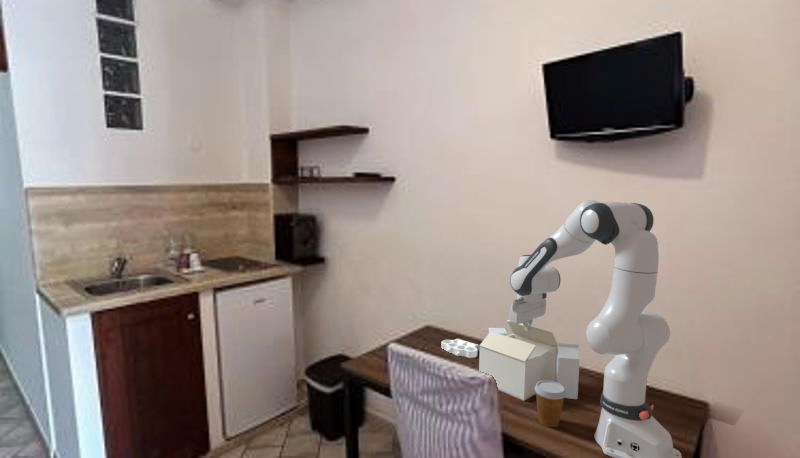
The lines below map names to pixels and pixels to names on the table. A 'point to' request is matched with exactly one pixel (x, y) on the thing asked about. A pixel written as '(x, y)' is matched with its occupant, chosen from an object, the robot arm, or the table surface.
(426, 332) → the table surface
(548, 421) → the disposable coffee cup
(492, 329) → the supplement box
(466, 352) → the knuckle duster
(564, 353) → the milk carton
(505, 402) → the table surface
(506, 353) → the near flap
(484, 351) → the carton
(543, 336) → the far flap
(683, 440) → the table surface
